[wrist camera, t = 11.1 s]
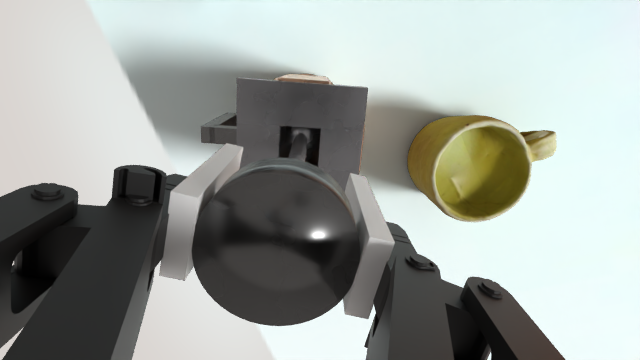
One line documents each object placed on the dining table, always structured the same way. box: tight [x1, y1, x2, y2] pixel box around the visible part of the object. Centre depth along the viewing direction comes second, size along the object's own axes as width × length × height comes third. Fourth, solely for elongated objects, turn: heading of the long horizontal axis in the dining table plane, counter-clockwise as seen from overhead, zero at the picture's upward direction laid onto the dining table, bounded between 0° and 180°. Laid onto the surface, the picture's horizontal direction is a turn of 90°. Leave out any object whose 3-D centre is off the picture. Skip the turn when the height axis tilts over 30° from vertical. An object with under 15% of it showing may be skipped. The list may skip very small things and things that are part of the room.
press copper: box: [201, 74, 368, 192], centre depth 31 cm, size 12×9×13 cm
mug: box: [407, 115, 556, 222], centre depth 35 cm, size 12×10×10 cm
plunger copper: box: [191, 126, 361, 326], centre depth 20 cm, size 6×6×18 cm
